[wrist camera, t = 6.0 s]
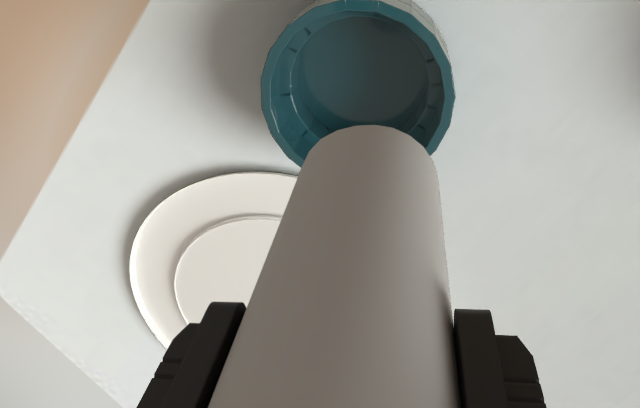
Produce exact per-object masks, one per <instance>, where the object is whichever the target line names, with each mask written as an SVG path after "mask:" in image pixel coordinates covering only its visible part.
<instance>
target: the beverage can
mask: <svg viewBox="0 0 640 408" xmlns="http://www.w3.org/2000/svg"><path fill="white" fill-rule="evenodd" d="M208 408H462V406H461V396H460V386H459V377H458V367H457V358H456V348H455V338H454V329H453V319H452V310H451V300H450V290H449V281H448V271H447V261H446V251H445V241H444V232H443V222H442V212H441V202H440V192H439V182H438V175H437V172H436V169H435V165H434V162H433V160H432V159H431V157H430V156H429V154H428V153H427V151H426V150H425V148H424V147H423V146H422V145H421V144H420V143H418V142H417V141H416V140H415V139H414V138H412V137H411V136H410V135H408V134H406V133H403V132H401V131H399V130H397V129H395V128H391V127H385V126H379V125H360V126H353V127H349V128H345V129H341V130H337V131H335V132H333V133H331V134H329V135H327V136H326V137H324V138H322V139H320V140H319V141H318V143H317V144H316V145H315V146H314V147H313V148H312V149H311V150H310V151H309V153H308V155H307V157H306V159H305V161H304V163H303V165H302V168H301V170H300V173H299V175H298V178H297V181H296V183H295V186H294V188H293V191H292V193H291V196H290V198H289V201H288V204H287V206H286V209H285V211H284V214H283V216H282V219H281V221H280V224H279V227H278V229H277V232H276V234H275V237H274V239H273V242H272V244H271V247H270V250H269V252H268V255H267V257H266V260H265V262H264V265H263V267H262V270H261V273H260V275H259V278H258V280H257V283H256V285H255V288H254V290H253V293H252V296H251V298H250V301H249V303H248V306H247V308H246V311H245V313H244V316H243V319H242V321H241V324H240V326H239V329H238V331H237V334H236V336H235V339H234V342H233V344H232V347H231V349H230V352H229V354H228V357H227V359H226V362H225V365H224V367H223V370H222V372H221V375H220V377H219V380H218V382H217V385H216V388H215V390H214V393H213V395H212V398H211V400H210V403H209V405H208Z"/></svg>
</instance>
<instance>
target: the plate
mask: <svg viewBox="0 0 640 408" xmlns="http://www.w3.org/2000/svg"><path fill="white" fill-rule="evenodd" d="M297 178H298V176H295V175H290V174H283V173H274V172H238V173H230V174H224V175H219V176H215V177H211V178H208V179H205V180H202V181H199V182H196V183H194V184H192V185H189V186H187V187H185V188H183V189H181V190H180V191H178V192H176V193H174V194H173V195H171V196H170V197H168V198H167V199H165V200H164V201H163V202H162V203H160V204H159V205H158V206H157V207H156V208H155V209H154V210H153V211H152V212H151V213H150V214H149V216H148V217H147V218H146V219H145V221H144V222H143V224H142V225H141V227H140V229H139V231H138V233H137V235H136V237H135V240H134V243H133V246H132V250H131V255H130V281H131V287H132V291H133V295H134V298H135V301H136V303H137V306H138V308H139V310H140V312H141V314H142V316H143V318H144V320H145V322H146V323H147V325H148V326H149V328H150V329H151V331H152V332H153V333H154V335H155V336H156V337H157V338H158V340H159V341H160V342H161V343H162V344H163V345H164V346H165V347H166V348H167V349H168V347H169V345H170V344H171V342H172V340H173V339H174V338H175V337H176V336H177V335H178V334H179V333H180V332H181V331H182V330H183V329H184V328H185V327H186V326H187V325H188V324H189V323H200V322H201V320H202V318H203V316H204V314H205V312H206V310H207V308H208V306H209V304H210V303H211V302H213V301H214V302H243V303H244V304H245V306H246V308H247V306H248V303H249V301H250V298H251V296H252V293H253V290H254V288H255V285H256V283H257V280H258V278H259V275H260V273H261V270H262V267H263V265H264V262H265V260H266V257H267V255H268V252H269V250H270V247H271V244H272V242H273V239H274V237H275V234H276V232H277V229H278V227H279V224H280V221H281V219H282V216H283V214H284V211H285V209H286V206H287V204H288V201H289V198H290V196H291V193H292V191H293V188H294V186H295V183H296V181H297Z"/></svg>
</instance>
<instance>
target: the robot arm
mask: <svg viewBox="0 0 640 408" xmlns="http://www.w3.org/2000/svg"><path fill="white" fill-rule="evenodd" d="M245 311H246V306H245V304H244V303H243V302H214V301H213V302H211V303H210V304H209V306H208V308H207V310H206V312H205V314H204V316H203V318H202V320H201V322H200V323H189V324H188V325H187V326H186V327H185V328H184V329H183V330H182V331H181V332H180V333H179V334H178V335H177V336H176V337H175V338H174V339H173V340H172V342H171V344H170V345H169V347H168V349H167V351H166V353H165V355H164V357H163V362H161V363H160V364H159V366H158V368H157V370H156V372H155V374H154V375H155V376H154V378H152V380H151V382H150V383H149V385H148V387H147V389H146V391H145V393H144V395H143V397H142V399H141V400H140V402H139V404H138V406H137V408H208V405H209V403H210V400H211V398H212V395H213V393H214V390H215V388H216V385H217V382H218V380H219V377H220V375H221V372H222V370H223V367H224V365H225V362H226V359H227V357H228V354H229V352H230V349H231V347H232V344H233V342H234V339H235V336H236V334H237V331H238V329H239V326H240V324H241V321H242V319H243V316H244V313H245ZM453 329H454V338H455V348H456V358H457V367H458V377H459V386H460V396H461V406H462V408H546V404H545V403H544V397H543V393H542V389H541V385H540V384H539V378H538V374H537V370H536V367H535V363H534V359H533V356H532V355H531V353H530V352H529V351H528V349H527V348H526V347H525V346H524V344H523V343H522V342H521V341H520V339H519V338H518V337H517V336H507V335H495V331H494V326H493V321H492V316H491V312H490V310H472V309H455V311H454V328H453Z"/></svg>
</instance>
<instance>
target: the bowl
mask: <svg viewBox="0 0 640 408" xmlns="http://www.w3.org/2000/svg"><path fill="white" fill-rule="evenodd" d="M454 102H455V89H454V82H453V75H452V68H451V63H450V59H449V55H448V51H447V48H446V44H445V42H444V40H443V38H442V36H441V34H440V32H439V30H438V28H437V27H436V25H435V23H434V21H433V20H432V18H431V17H430V16H429V15H428V14H427V13H426V12H425V11H424V10H422V9H421V8H420V7H419V6H418V5H417V4H416V3H415V2H414V1H413V0H316V1H314V2H313V3H312V4H310V5H309V6H307V7H306V8H305V9H303V10H302V11H301V12H300V13H299V14H298V15H297V16H296V17H295V18H294V19H293V20H292V21H291V22H290V24H289V25H288V26H287V27H286V28H285V29H284V31H283V32H282V34H281V35H280V36H279V38H278V39H277V41H276V42H275V43H274V45H273V46H272V48H271V49H270V51H269V53H268V56H267V59H266V63H265V66H264V70H263V73H262V76H261V106H262V111H263V113H264V116H265V119H266V122H267V125H268V128H269V130H270V133H271V134H272V137H273V138H274V139H275V141H276V142H277V144H278V145H279V146H280V148H281V149H282V150H283V152H284V153H285V154H286V156H287V157H288V158H289V159H291V160H292V161H293V162H295V163H296V164H297V165H299V166H300V167H301V168H302V165H303V163H304V161H305V159H306V157H307V155H308V153H309V151H310V150H311V149H312V148H313V147H314V146H315V145H316V144H317V143H318V141H319V140H320V139H322V138H324V137H326V136H327V135H329V134H331V133H333V132H335V131H337V130H341V129H345V128H349V127H353V126H360V125H379V126H385V127H391V128H395V129H397V130H399V131H401V132H403V133H406V134H408V135H410V136H411V137H412V138H414V139H415V140H416V141H417V142H418V143H420V144H421V145H422V146H423V147H424V148H425V150H426V151H427V153H428V154H429V156H430V155H431V154H433V153H434V152H435V151H436V149H437V147H438V146H439V144H440V142H441V140H442V139H443V137H444V135H445V133H446V132H447V130H448V128H449V126H450V122H451V117H452V112H453V107H454Z"/></svg>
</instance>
